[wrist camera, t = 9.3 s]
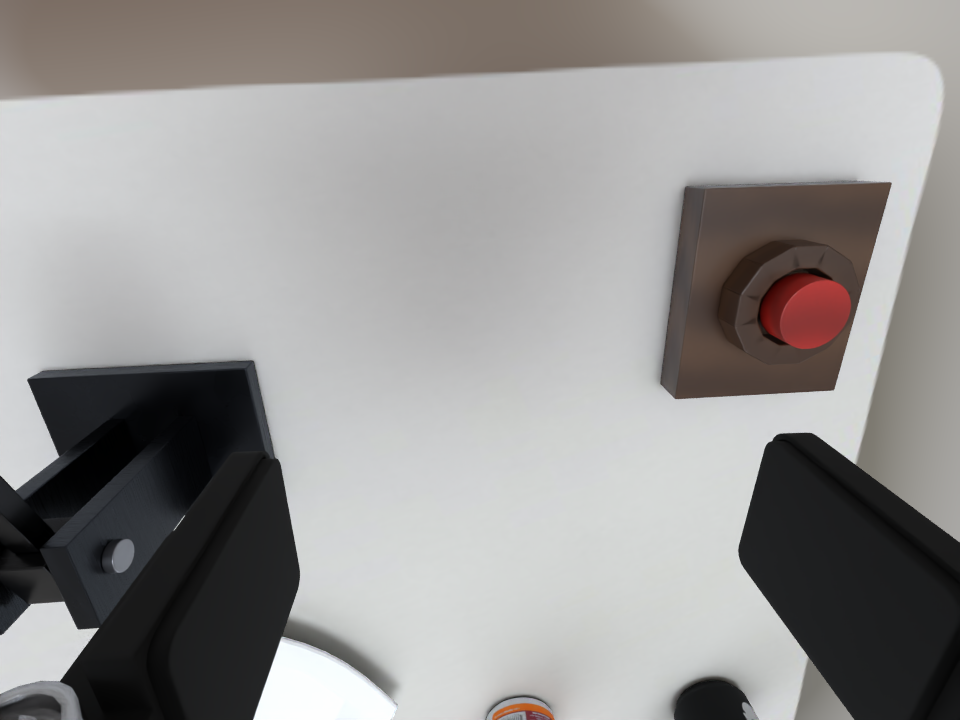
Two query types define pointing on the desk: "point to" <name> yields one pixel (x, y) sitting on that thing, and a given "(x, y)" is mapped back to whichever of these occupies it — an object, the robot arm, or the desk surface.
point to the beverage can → (714, 703)
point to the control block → (762, 282)
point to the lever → (26, 548)
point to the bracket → (130, 468)
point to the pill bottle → (521, 710)
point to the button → (805, 310)
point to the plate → (319, 688)
